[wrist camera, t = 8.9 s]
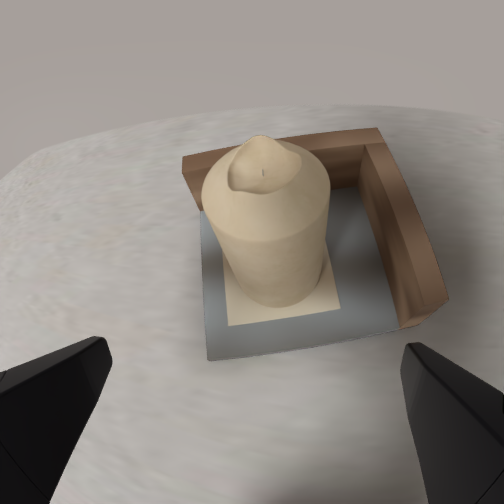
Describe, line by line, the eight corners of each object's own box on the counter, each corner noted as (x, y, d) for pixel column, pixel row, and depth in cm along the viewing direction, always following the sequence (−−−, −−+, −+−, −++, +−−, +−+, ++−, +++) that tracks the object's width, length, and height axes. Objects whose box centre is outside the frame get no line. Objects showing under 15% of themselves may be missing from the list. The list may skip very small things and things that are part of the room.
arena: (417, 324, 18) (449, 299, 14) (209, 361, 19) (182, 345, 15) (368, 173, 24) (377, 127, 20) (201, 199, 25) (182, 156, 21)
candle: (237, 234, 23) (199, 124, 14) (317, 229, 22) (322, 113, 13) (235, 310, 20) (183, 226, 11) (324, 306, 19) (342, 216, 10)
